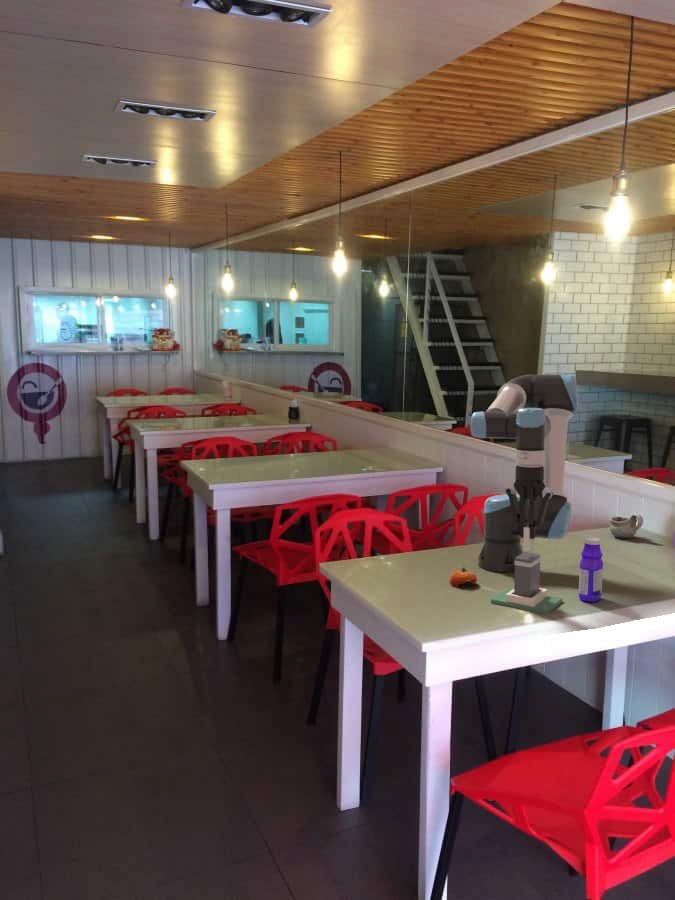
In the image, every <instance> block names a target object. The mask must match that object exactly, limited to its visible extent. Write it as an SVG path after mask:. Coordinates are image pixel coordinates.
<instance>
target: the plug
mask: <svg viewBox="0 0 675 900" xmlns="http://www.w3.org/2000/svg"><path fill="white" fill-rule="evenodd" d="M540 571H541V554H538V553H533V552H528V551H526V552H525V551H523V553H522V554H521V555H519V556H517V557H516V558H515V571H514V581H513V582H514V584H513V586H514V587H513V589H514V595H519V596H524V597H529V598H532V597H534V596H535V595H536V594H538V593H539V588H540V577H541V576H540V575H541V573H540Z"/></svg>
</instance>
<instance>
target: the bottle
mask: <svg viewBox="0 0 675 900" xmlns="http://www.w3.org/2000/svg"><path fill="white" fill-rule="evenodd" d="M580 555H581V559H580V562H579V581H578V598H579V600H581V601H585V602H589V603H594V602H598V601H600V599H601V598H602V595H603V592H602V591H603V571H604V570H603V569H604V563H603V559H602V557H603V552H602V550H601V539H600V538H597V537H595V536H593V537H592V536H591V537H590V536H589V537H585V538H584V546H583V549H582V551H581V552H580Z"/></svg>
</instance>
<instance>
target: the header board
mask: <svg viewBox="0 0 675 900" xmlns="http://www.w3.org/2000/svg"><path fill="white" fill-rule="evenodd" d="M548 591H549V590H548V589H547V588H541V587H539V593H538V594H536V595H535V596H534V597H532V598H529V597H524V596H519V595H514V588H511V587H508V588H506V589H504V590H503V591H501V592H500V593H498V594H497V595H495V596H493V597H492V598H491V599H490V603H491V604H495V605H499V606H506V607H508V608H509V607H510V608H514V609H521V610H525V611H529V612H535V613H539V614H544V615H548V614H549V613H551V611H553V610H554V609H555V608H557V607H558V606H559V605H560V604H562V602H563V597H559V596H552V595H548Z"/></svg>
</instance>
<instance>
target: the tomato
mask: <svg viewBox="0 0 675 900" xmlns="http://www.w3.org/2000/svg"><path fill="white" fill-rule="evenodd" d="M468 581H469V582H470V583H472V584H473V585H475V584H476V583H477V582H478V577H477V575H476V574H475V573H474V572H472V571H468V570H467V569H466V567H462V568H461V569H460V570H455V571H454V572H453V573H452V574H451V576H450V579H449V583H450V585H452V586H453V587H455V588H459V585H461V584H464V583H467V582H468Z"/></svg>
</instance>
